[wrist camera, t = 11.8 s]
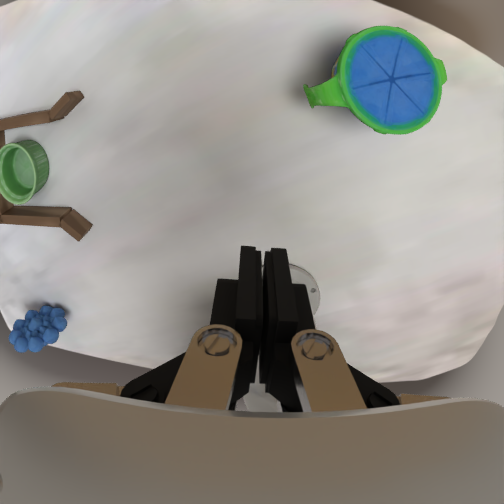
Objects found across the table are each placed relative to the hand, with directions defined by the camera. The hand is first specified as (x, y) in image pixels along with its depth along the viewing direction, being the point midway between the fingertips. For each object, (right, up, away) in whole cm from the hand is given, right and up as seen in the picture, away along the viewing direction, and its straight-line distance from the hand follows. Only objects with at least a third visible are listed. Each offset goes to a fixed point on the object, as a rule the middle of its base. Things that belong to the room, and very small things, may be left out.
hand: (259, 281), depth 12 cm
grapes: (-38, -10, +37) cm, 54 cm away
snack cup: (+12, +21, +19) cm, 31 cm away
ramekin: (-33, +14, +24) cm, 43 cm away
